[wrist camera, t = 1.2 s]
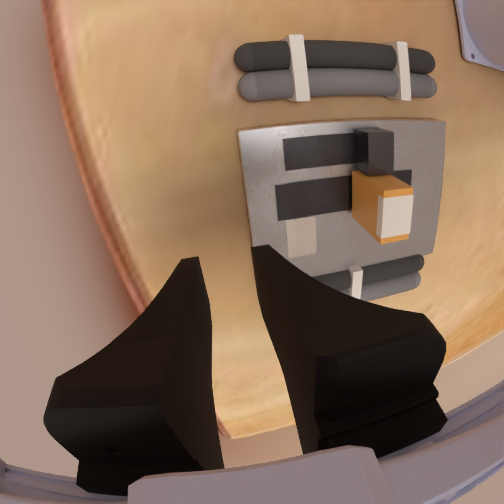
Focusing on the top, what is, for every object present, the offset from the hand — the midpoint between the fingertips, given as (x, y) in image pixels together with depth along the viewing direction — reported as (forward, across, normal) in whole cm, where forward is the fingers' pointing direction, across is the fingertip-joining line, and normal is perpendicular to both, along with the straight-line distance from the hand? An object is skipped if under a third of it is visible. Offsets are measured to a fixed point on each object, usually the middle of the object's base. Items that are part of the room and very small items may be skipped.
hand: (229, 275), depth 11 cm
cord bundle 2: (+10, -9, +9) cm, 16 cm away
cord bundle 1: (+10, -9, -7) cm, 15 cm away
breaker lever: (+8, -9, +1) cm, 13 cm away
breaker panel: (+10, -9, +2) cm, 14 cm away
